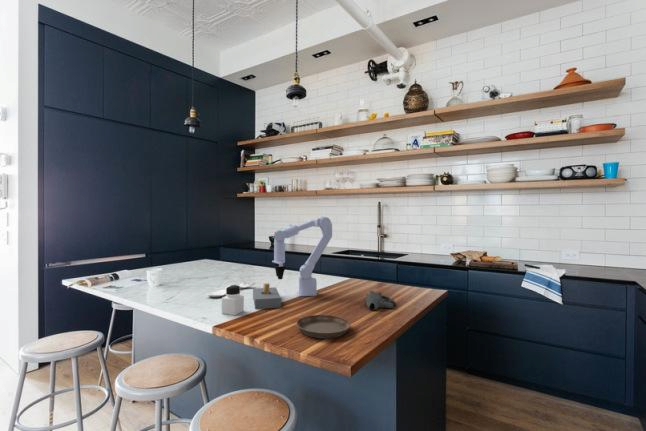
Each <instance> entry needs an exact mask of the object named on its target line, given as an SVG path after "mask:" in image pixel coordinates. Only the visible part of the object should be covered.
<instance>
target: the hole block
mask: <svg viewBox="0 0 646 431" xmlns="http://www.w3.org/2000/svg"><path fill="white" fill-rule="evenodd" d="M252 299H253V304H254V309H255V310H260V309H275V308H278V309H279V308H282V297H281V294H280V292H279V291H278V289H277V287H269V294H263V287H257V288H256V287H255V288H253V287H252Z"/></svg>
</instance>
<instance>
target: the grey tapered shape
mask: <svg viewBox="0 0 646 431" xmlns="http://www.w3.org/2000/svg"><path fill="white" fill-rule="evenodd" d="M364 300H365V301H364V302H363V303H364V304H366V306H367V308H368V310H371V309H373V310H372V311H375V310H378V309H379V308H381V309H383V308H384V307H385V309H387V308H388V309H394V307H395V306H396V305H397V304H396V302H395V300H394V298H391V297H390V296H387V295H382V292H381V291H380V292H379V291H377V292H376V291H373V290H370V291H369V293H365V297H364ZM394 305H395V306H394Z"/></svg>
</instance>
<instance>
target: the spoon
mask: <svg viewBox="0 0 646 431" xmlns="http://www.w3.org/2000/svg"><path fill="white" fill-rule="evenodd" d="M255 284H256V282H247V281H245V280H244V281H242V282H241V283H240V284H239V285H238V286H239V287H240V289H247V288H249V287H252V286H254V285H255ZM206 295H207V296H208V297H211V298H212V297H213V298H220V297H224V296H226V288H224V289H221V290H217V291H212V292H207V293H206Z"/></svg>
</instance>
